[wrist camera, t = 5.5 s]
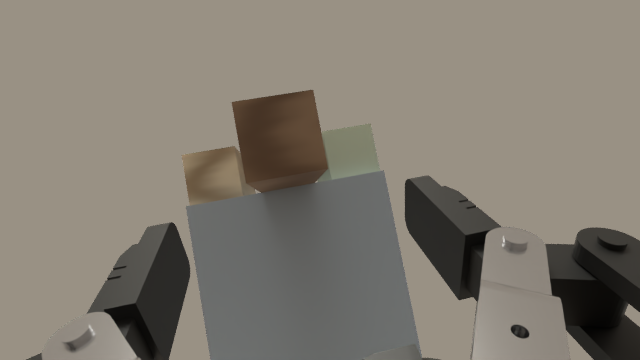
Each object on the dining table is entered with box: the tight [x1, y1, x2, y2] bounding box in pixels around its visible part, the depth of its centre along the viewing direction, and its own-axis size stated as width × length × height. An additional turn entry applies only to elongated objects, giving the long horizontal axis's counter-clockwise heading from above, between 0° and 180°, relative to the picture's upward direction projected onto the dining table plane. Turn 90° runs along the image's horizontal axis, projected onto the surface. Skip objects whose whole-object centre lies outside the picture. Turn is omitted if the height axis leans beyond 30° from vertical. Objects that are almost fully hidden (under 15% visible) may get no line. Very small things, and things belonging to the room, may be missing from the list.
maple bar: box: [182, 146, 256, 206], centre depth 31 cm, size 4×11×4 cm, turn 6°
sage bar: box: [318, 124, 380, 182], centre depth 32 cm, size 4×11×4 cm, turn 6°
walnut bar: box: [232, 90, 328, 193], centre depth 27 cm, size 4×22×4 cm, turn 6°
